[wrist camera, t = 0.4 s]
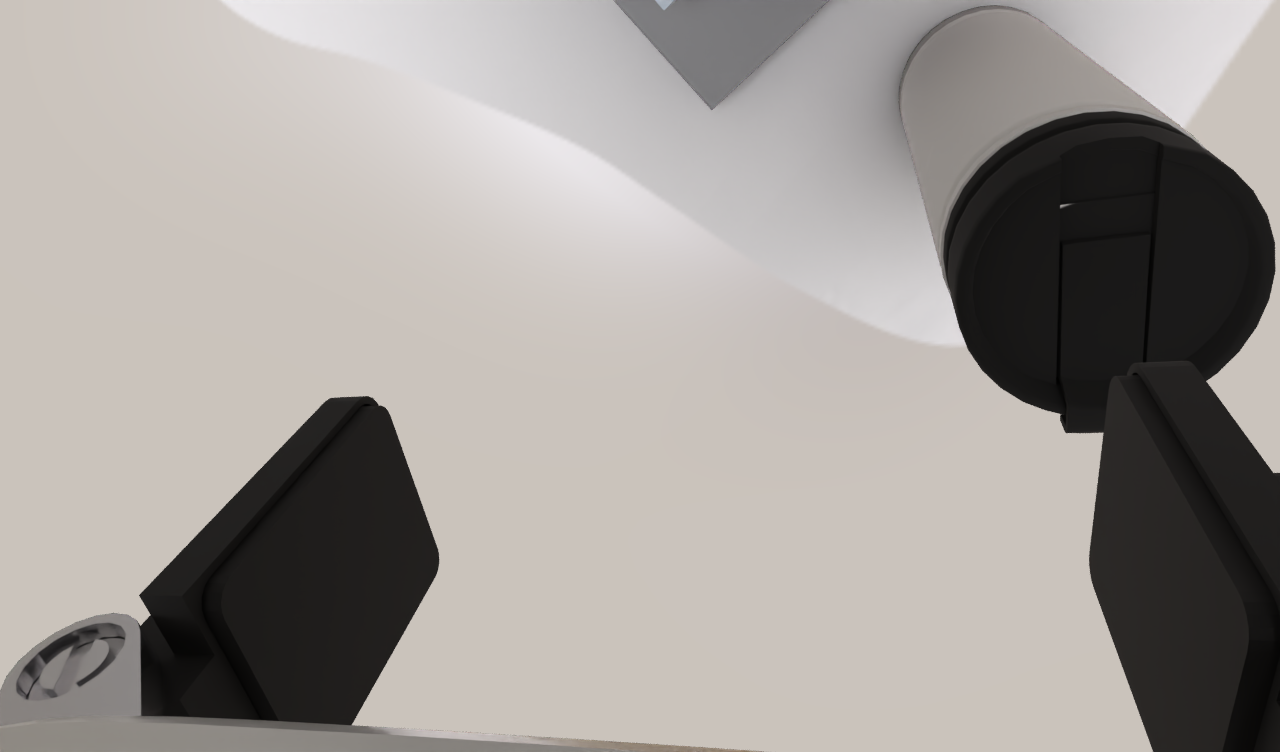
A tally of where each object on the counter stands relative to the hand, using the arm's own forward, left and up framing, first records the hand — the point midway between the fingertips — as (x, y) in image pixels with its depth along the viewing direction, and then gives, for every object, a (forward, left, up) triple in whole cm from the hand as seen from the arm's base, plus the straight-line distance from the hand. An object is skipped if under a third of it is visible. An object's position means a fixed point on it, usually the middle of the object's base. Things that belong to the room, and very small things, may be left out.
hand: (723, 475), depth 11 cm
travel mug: (-4, +6, -29) cm, 30 cm away
